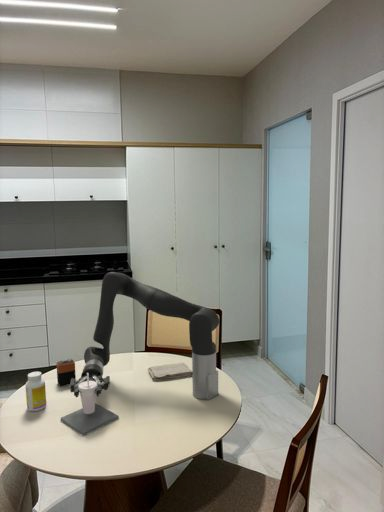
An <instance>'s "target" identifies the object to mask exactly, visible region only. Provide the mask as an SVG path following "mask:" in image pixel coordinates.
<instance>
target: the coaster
mask: <svg viewBox="0 0 384 512" xmlns="http://www.w3.org/2000/svg"><path fill="white" fill-rule="evenodd" d="M118 419H119V415H118V414H117V413H115V412H113V411H111V410H109V409H108V408H106V407H103V406H102V405H100V404H98V403H97V402H95V411H94V412H93V413H91V414H85V413H84V412H83V407H82V408H80V409H77V410H75V411H73V412H71V413H69V414H66V415H64V416H61V417H60V422H62V423H64V425H66V426H68V427H70V428H71V429H72V430H74V431H75V432H77V433H78V434H79V435H81V436H82V437H84V436H87V435H89V434H91V433H92V432H95V431H96V430H98V429H100V428H102V427H104V426H106V425H108V424H111V423H112V422H114V421H116V420H118Z"/></svg>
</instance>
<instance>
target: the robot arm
mask: <svg viewBox="0 0 384 512" xmlns="http://www.w3.org/2000/svg"><path fill="white" fill-rule="evenodd" d="M100 291H101V292H100V300H99V308H98V309H99V311H98V316H97V319H96V320H97V321H96V326H95V329H94V333H93V341H94V342H96V343H98V344H100V345H101V346H102V347H98V346H89V347H87V348H86V349H85V350H84V353H83V354H84V355H83V359H84V363H85V364H84V366H83V369H82V372H81V375H80V378H78V379H76V380H74V378H72V379H71V383H70V384H69V386H70V393H73V396H74V397H75V398H79V396H80V390H79V389H78V385H79V384H80V383H82V382H85V381H87V373H89V381H95V382H97V388H96V397H99V396H100V395H101V394H102V391H103V390H104V391H107V390H108V388H109V387H110V383H111V376H110V375H108V376H105V377H103V375H104V367H105V366H107V365H108V363H109V362H110V358H111V357H110V355H111V354H110V353H111V350H110V344H111V337H112V334H113V329H114V325H115V320H114V319H115V318H114V305H115V304H114V303H115V299H116V296H117V295H120V296H125V297H128V298H132V299H133V300H135V301H137V302H138V303H140V304H141V305H142V306H143V307H144V308H145V309H148V310H149V311H151V312H152V313H153V312H154V313H155V314H158V315H160V316H164V317H170V318H177V319H178V318H179V319H183V320H186V321H188V322H189V323H188V329H189V330H188V334H189V344H190V348H191V358H192V359H191V365H192V366H191V371H192V376H191V377H192V378H191V379H192V381H191V382H192V395H193V397H195V398H196V399H201V400H208V401H210V400H211V399H213V398H215V397H216V396H218V395H219V370H217V345H216V342H213V332H214V331H215V330H216V329H217V327H218V326H219V324H220V318H219V316H218V314H217V313H216V311H214V310H213V309H211V308H210V307H209V308H208V307H205V306H202V305H198V304H196V303H192V302H190V301H188V300H187V301H186V300H185V299H183V298H180V297H178V296H176V295H173V294H171V293H169V292H167V291H164V290H163V289H159V288H158V287H154V286H151V285H148V284H145V283H142V282H139V281H137V279H134V278H132V277H131V276H129V275H127V274H126V273H121V272H116V271H110V272H108V273H106V274H104V277H103V278H102V283H101V288H100Z"/></svg>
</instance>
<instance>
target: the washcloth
mask: <svg viewBox="0 0 384 512" xmlns="http://www.w3.org/2000/svg"><path fill="white" fill-rule="evenodd" d="M147 371H148V374H149V377H150V378H151V380H152V381H153V382H160V381H161V382H162V381H169V380H176V379H180V378H188V377H192V369H190V368H189V367H188V365H187V364H186V363H185V362H178V363H177V362H176V363H168V364H162V365H155V366H149V367H148V368H147Z"/></svg>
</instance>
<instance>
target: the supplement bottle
mask: <svg viewBox="0 0 384 512" xmlns="http://www.w3.org/2000/svg"><path fill="white" fill-rule="evenodd" d="M42 376H43V375H42V372H41V371H32V372H30V373H29V372H28V374H27V381H26V382H25V398H26V409H27V410H28V411H29V412H37V411H42V410H44V409H45V408H46V407H47V395H46V394H47V393H46V381H45V379H44V378H42Z"/></svg>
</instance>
